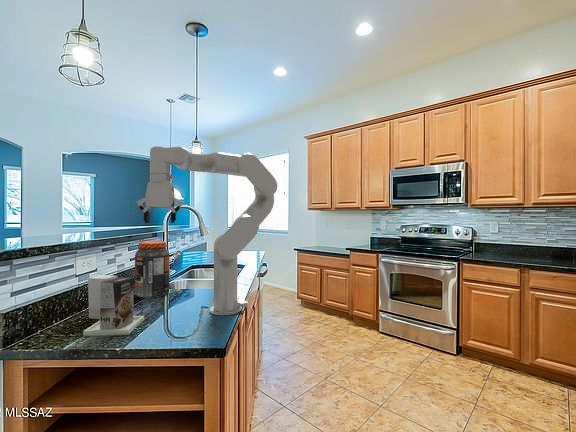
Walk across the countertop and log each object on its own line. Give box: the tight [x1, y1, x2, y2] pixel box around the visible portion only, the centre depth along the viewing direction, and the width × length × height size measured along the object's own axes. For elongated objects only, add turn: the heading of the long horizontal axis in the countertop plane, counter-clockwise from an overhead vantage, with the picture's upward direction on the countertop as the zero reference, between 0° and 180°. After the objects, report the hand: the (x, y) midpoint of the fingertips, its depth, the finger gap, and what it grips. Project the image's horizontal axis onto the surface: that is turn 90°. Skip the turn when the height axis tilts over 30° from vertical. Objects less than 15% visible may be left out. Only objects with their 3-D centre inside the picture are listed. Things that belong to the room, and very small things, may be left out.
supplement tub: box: [134, 240, 171, 299], centre depth 152 cm, size 16×16×26 cm
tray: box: [82, 315, 145, 337], centre depth 108 cm, size 14×14×2 cm
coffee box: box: [99, 277, 135, 330], centre depth 108 cm, size 9×6×16 cm
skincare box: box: [87, 274, 118, 320], centre depth 119 cm, size 8×7×16 cm
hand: (160, 222), depth 120 cm, fingers open, 9 cm apart
